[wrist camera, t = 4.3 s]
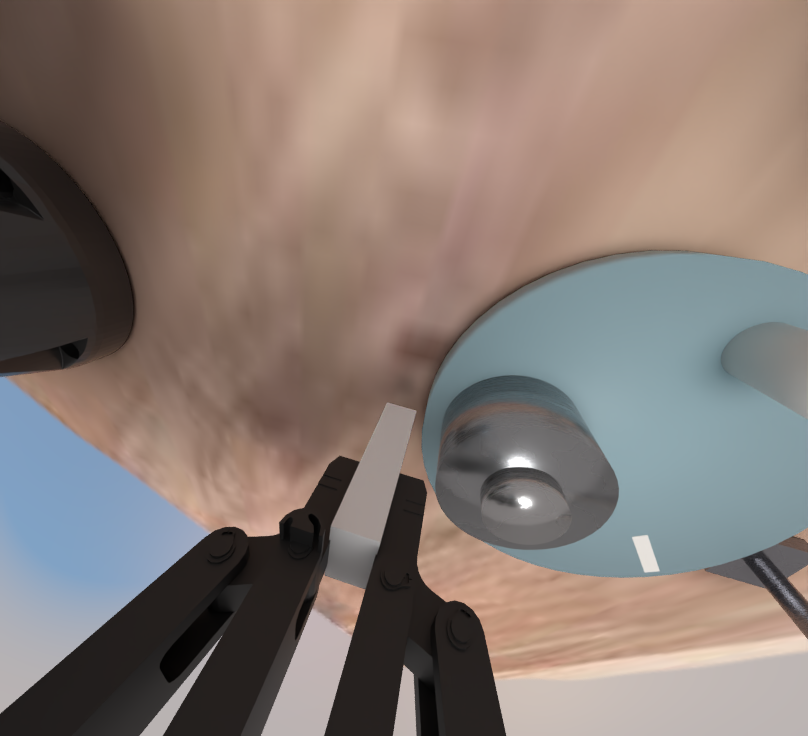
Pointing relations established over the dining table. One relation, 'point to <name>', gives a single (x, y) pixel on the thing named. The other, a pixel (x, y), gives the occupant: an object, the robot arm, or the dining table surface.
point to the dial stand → (774, 575)
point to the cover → (522, 466)
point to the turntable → (662, 400)
